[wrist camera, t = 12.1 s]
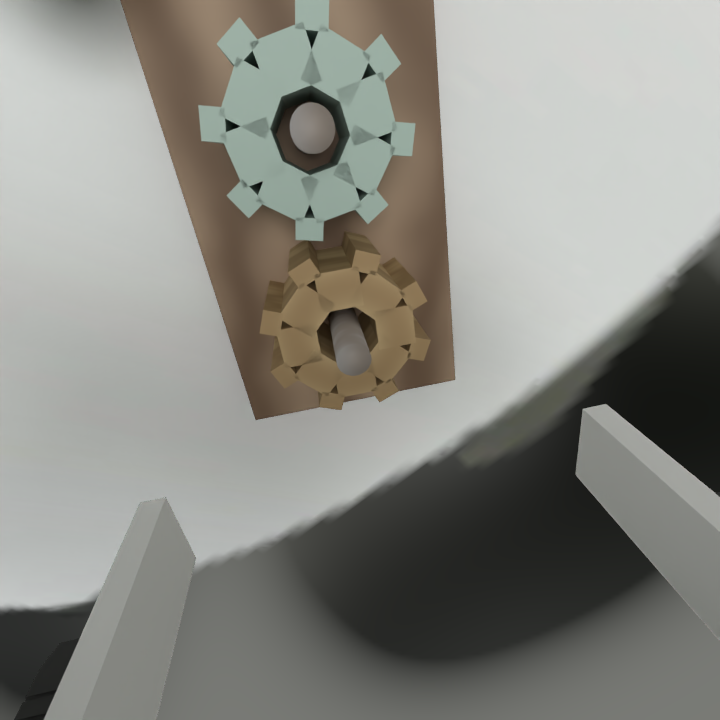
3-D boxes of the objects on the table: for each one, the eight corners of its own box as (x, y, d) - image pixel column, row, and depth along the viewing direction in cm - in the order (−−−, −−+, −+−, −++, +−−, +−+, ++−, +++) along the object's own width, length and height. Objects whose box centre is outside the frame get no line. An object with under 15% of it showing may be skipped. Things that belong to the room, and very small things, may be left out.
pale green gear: (266, 243, 27) (258, 265, 22) (191, 73, 23) (159, 48, 17) (406, 190, 27) (433, 199, 22) (358, 7, 22) (377, -38, 17)
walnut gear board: (258, 406, 35) (242, 506, 25) (132, 7, 23) (8, -102, 13) (447, 368, 35) (504, 450, 26) (420, -36, 24) (507, -171, 14)
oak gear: (252, 247, 27) (241, 270, 22) (398, 221, 28) (422, 237, 22) (286, 376, 31) (284, 421, 26) (412, 351, 32) (434, 391, 27)
